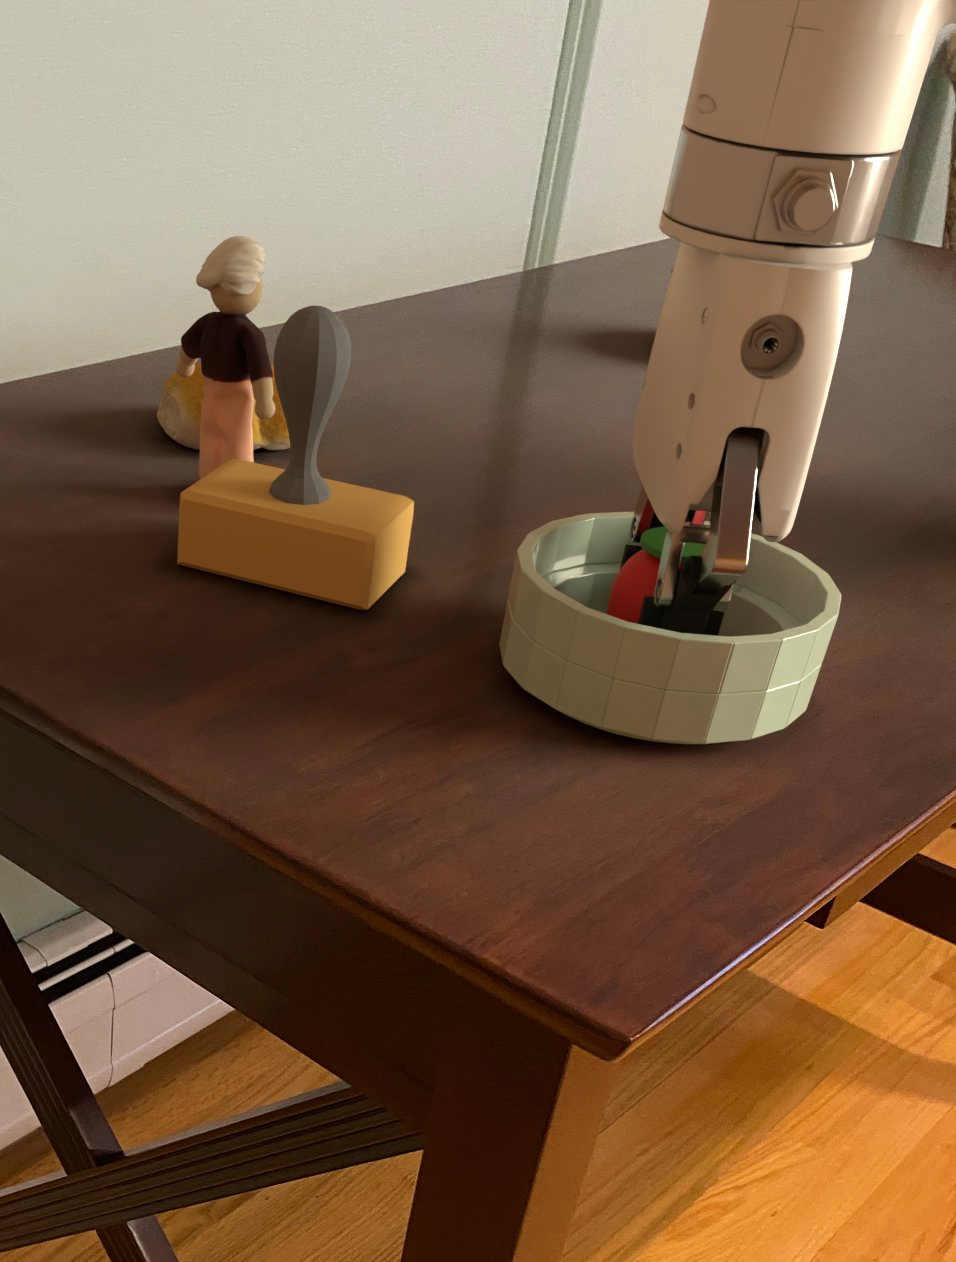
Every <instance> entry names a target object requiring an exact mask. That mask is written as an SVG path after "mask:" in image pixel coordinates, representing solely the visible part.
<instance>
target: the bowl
mask: <svg viewBox="0 0 956 1262" xmlns="http://www.w3.org/2000/svg"><path fill="white" fill-rule="evenodd" d="M634 512H635V511H615V512H614V511H613V512H611V511H610V512H592V513H591V512H590V513H589V512H588V513H583V514H579V515H578V514H577V515H573V516H569V517H564V518H558V519H555V520H551V521H549V522H547V523H544V524H543V525H541V526H539V527H537V528H535V529H534V530H531V531H529V532H528V533H527V535H526V536H525V538H524V539H523V540H522V542H521V544H520V545H519V547H518V548H517V549H516V554H515V559H514V564H513V570H512V573H511V574H512V575H511V581H510V585H509V589H508V596H507V601H506V607H505V613H504V617H503V623H502V628H501V633H500V638H499V639H500V640H499V643H498V646H499V650H500V655H501V662H502V665H503V667H504V669H505V670H506V671H507V672H508V674H510V676H511V677H512V678H513V679H514V680H515V682H516V683H517V684H518V685H519V686H520V688H522V689H523V690H524V691H526V692H527V693H528V694H530V695H531V696H534V697H535V698H537V699H538V700H540V701H541V702H543V703H545V704H546V705H548V706H549V707H551V708H552V709H554V710H556V711H558V712H559V713H561V714H563V715H565V716H567V717H568V718H571V719H573V720H576V721H577V722H580V723H582V724H584V725H588V726H590V727H593V728H595V729H598V730H601V731H605V732H608V733H612V734H614V735H618V736H622V737H627V738H631V739H637V740H642V741H647V742H654V743H663V744H664V743H665V744H672V745H673V744H674V745H710V744H712V745H713V744H721V743H730V742H740V741H741V742H742V741H750V740H753V739H756V738H760V737H763V736H766V735H769V734H772V733H775V732H779V731H782V730H785V729H786V728H787V727H788V726H790V725H791V724H792V723H793V722H794V721H796V719H798V718H799V717H800V716H801V715H803V714H804V713H805V712H806V711H807V710H808V709H807V708H808V706H809V704H810V700H811V697H812V694H813V691H814V688H815V685H816V683H817V679H818V677H819V674H820V670H821V667H822V664H823V662H824V659H825V657H826V653H827V650H828V647H829V645H830V642H831V638H832V635H833V632H834V629H835V627H836V624H837V621H838V618H839V614H840V609H841V604H842V598H843V596H842V593H841V591H840V589H839V588H838V587H837V585H836V583H835V581H834V580H833V579H832V577H831V576H830V574H829V573H828V572H827V571H826V570H824V569H823V568H822V567H820V566H819V565H817V564H816V563H815V562H813V561H812V560H811V559H809V558H808V557H806V556H805V555H804V554H802V553H800V552H799V551H795V549H792V548H790V547H788V546H785V545H783V544H781V543H779V542H768V541H766V540H765V539H764V537H763V536H762V535H759V534H756V533H752V532H751V536H750V546H749V555H748V563H747V567H746V571H745V573H744V575H743V576H742V577H740V578H739V579H738V580H737V581H736V582H735V583H733V588H732V592H731V597H730V601H729V605H728V607H727V609H726V611H725V613H724V617H723V620H722V624H721V627H720V630H719V634H718V636H714V635H701V634H689V633H679V632H674V631H669V630H665V629H660V628H655V627H650V626H645V625H641V624H636V623H631V622H627V621H625V620H622V619H619V618H616V617H613V616H610V615H608V614H606V611H607V606H608V602H609V598H610V593H611V589H612V586H613V582H614V580H615V578H616V576H617V574H618V572H619V570H620V566H621V562H622V558H623V554H624V549H625V545H636V546H640V543H631V542H630V537H629V536H630V527H631V522H632V519H633V515H634ZM703 525H710V520H709V521H708V520H705V521H704V524H703Z"/></svg>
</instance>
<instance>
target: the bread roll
mask: <svg viewBox="0 0 956 1262" xmlns="http://www.w3.org/2000/svg"><path fill="white" fill-rule="evenodd" d="M271 367H272V372H273V379H272V382H273V393H274V394H273V397H272V400H273V402H274V404H275V413H274V415H273V416H272V417H271V418H269V419H260V418H259V417H257V415H256V413H255V403H256V401H255V398H254V408H253V418H252V430H253V451H255V450H257V449H264V450H266V451H284V450H287V449H290V439H289V433H288V428H287V424H286V420H285V416H284V413H283V409H282V406H281V402H280V399H279V395H278V391H277V387H276V382H275V375H274V364H271ZM205 385H206V384H205V381H204V378H203V375H202V371H201V363H195V369H194V372H193V374H192V375H191V376H189V377H182V376H180V375H179V374H178V373H177V371H176V372H175V373H173V374H172V375H171V376H170V377H169V378H168V379H167V380H166V382H165V383H164V386H163V389H162V395H161V396H162V397H161V400H160V402H159V404H158V410H157V413H156V418H157V421H158V423H159V424H160V427H162V429H163V431H164V432H165V433H166V435H168V437H170V438H171V439H172V440H174V442H177V443H178V444H180V445H182V446H184V447H186V448H189V449H193V450H198V451H200V425H201V411H202V404H203V399H204V392H205Z"/></svg>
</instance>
